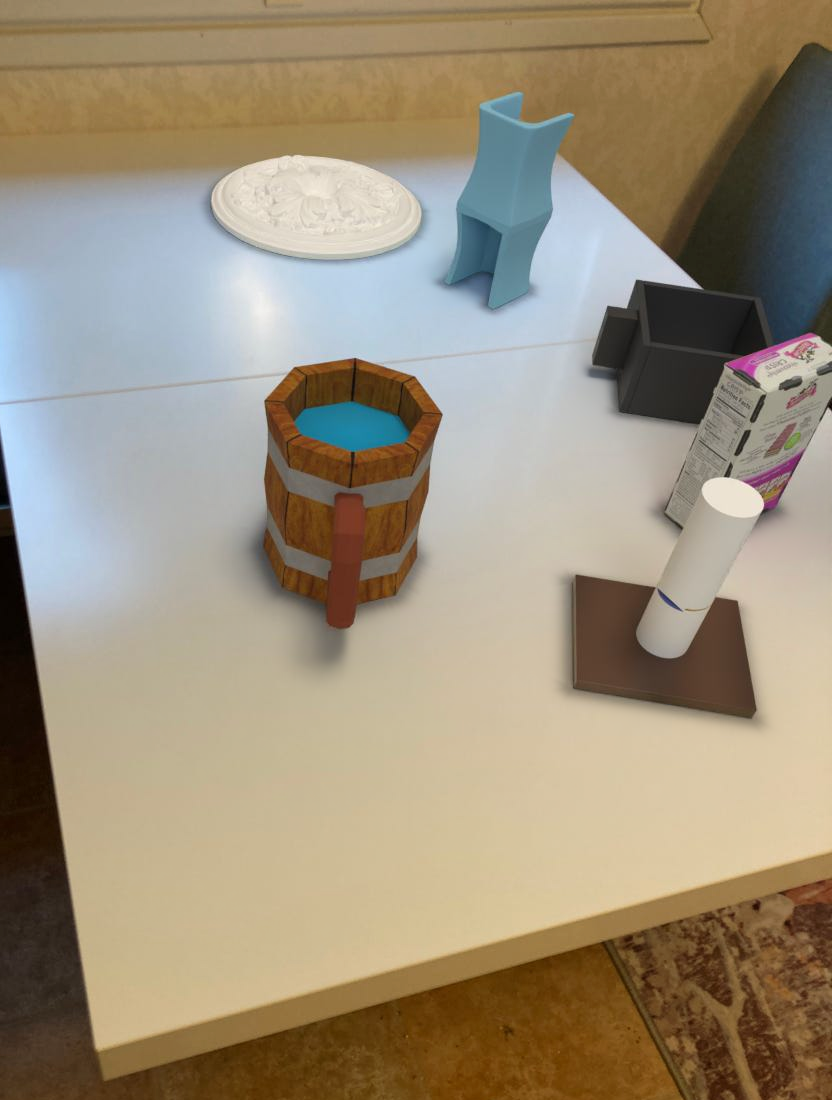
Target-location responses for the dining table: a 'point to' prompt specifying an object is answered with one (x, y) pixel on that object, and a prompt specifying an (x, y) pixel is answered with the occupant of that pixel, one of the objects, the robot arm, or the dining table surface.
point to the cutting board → (631, 671)
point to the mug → (346, 481)
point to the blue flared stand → (506, 197)
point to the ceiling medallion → (316, 208)
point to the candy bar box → (758, 422)
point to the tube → (698, 565)
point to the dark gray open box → (677, 346)
